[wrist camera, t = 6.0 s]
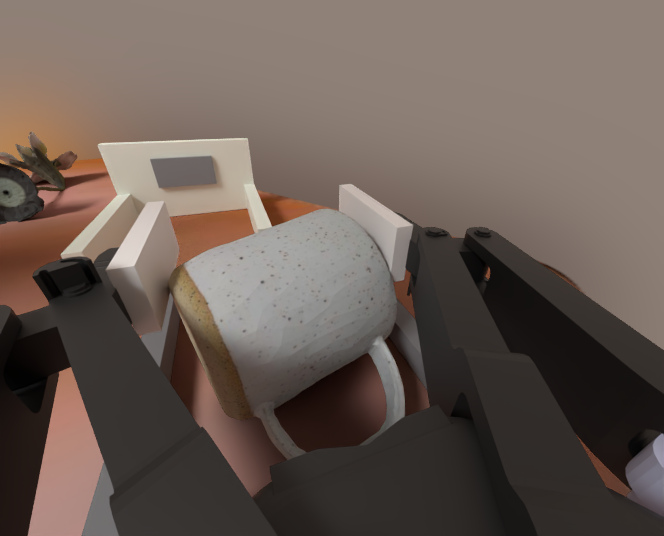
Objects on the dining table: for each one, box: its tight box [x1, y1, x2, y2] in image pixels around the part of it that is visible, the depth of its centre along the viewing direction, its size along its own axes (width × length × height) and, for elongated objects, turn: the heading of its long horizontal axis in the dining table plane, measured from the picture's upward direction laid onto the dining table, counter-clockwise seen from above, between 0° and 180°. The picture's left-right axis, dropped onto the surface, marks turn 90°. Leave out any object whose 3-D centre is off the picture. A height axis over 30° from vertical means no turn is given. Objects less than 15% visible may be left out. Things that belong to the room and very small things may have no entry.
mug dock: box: [60, 138, 272, 263], centre depth 27 cm, size 14×15×8 cm
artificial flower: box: [0, 132, 77, 224], centre depth 38 cm, size 9×22×10 cm, turn 24°
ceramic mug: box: [168, 209, 405, 460], centre depth 12 cm, size 11×8×8 cm
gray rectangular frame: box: [82, 292, 427, 536], centre depth 15 cm, size 14×16×2 cm
